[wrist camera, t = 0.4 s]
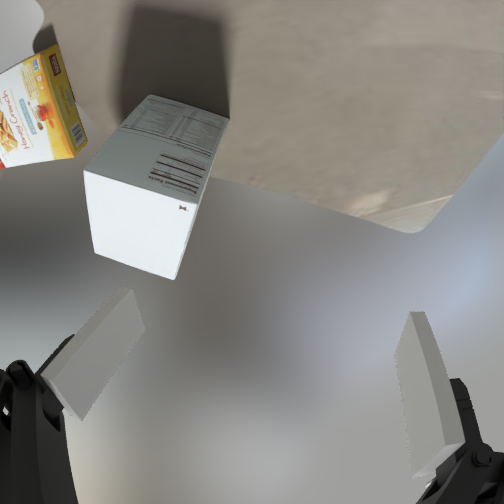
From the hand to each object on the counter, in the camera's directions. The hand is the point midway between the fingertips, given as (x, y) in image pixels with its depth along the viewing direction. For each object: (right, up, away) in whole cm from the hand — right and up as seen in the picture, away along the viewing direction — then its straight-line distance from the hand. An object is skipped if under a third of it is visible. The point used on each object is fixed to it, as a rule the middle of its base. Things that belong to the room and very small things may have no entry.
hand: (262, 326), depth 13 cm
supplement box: (-12, +20, +31) cm, 39 cm away
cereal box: (-43, +30, +24) cm, 58 cm away
